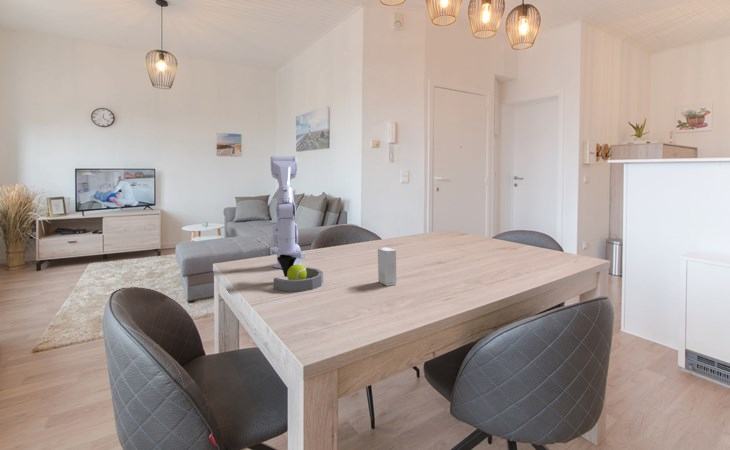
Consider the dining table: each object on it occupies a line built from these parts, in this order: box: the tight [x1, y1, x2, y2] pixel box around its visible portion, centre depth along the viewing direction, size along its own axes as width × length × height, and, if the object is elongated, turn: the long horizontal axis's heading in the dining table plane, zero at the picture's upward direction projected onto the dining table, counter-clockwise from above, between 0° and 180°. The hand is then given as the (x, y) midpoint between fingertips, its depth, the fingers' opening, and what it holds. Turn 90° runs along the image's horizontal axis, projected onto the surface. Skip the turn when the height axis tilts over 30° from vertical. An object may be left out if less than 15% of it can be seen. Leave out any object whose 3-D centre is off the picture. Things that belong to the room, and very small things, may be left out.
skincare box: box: [377, 246, 397, 287], centre depth 129 cm, size 6×4×12 cm
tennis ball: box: [286, 264, 307, 280], centre depth 128 cm, size 7×7×7 cm
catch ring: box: [273, 266, 324, 293], centre depth 127 cm, size 17×11×4 cm, turn 148°
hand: (287, 276), depth 131 cm, fingers closed
